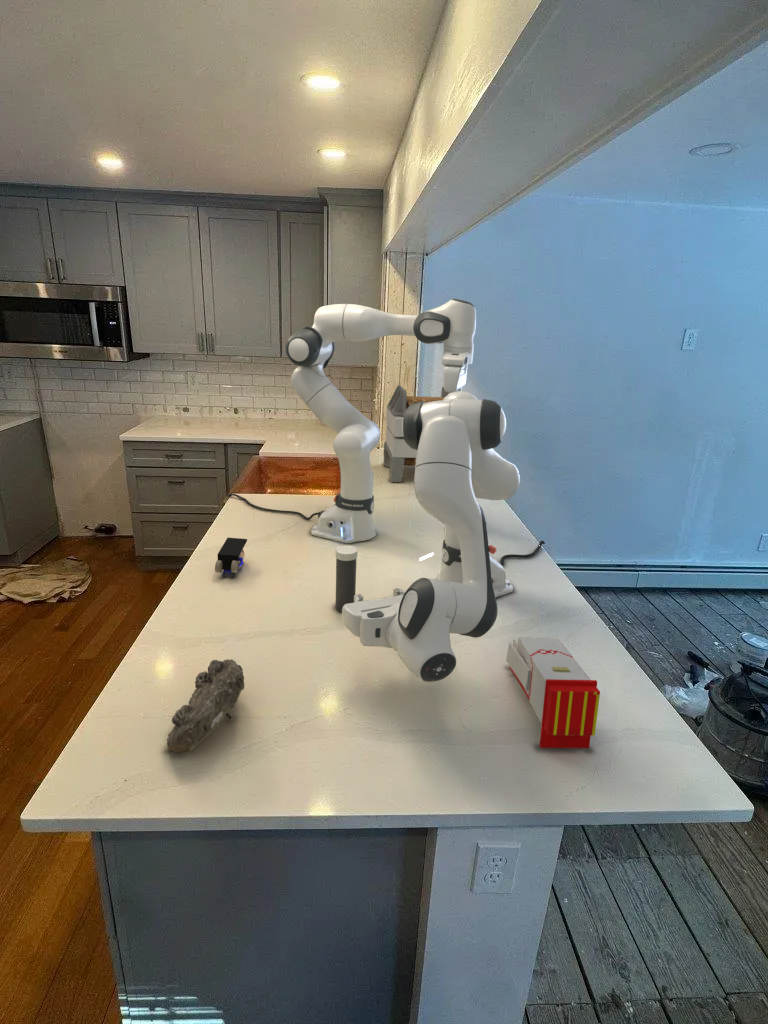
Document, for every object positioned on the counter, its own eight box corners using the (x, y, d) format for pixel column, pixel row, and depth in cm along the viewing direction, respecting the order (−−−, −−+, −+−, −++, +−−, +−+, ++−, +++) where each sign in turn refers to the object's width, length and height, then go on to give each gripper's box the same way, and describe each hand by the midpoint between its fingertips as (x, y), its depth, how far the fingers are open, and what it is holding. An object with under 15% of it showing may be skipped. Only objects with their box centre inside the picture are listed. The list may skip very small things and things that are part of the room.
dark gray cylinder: (333, 611, 147) (334, 554, 142) (337, 602, 152) (338, 546, 147) (353, 613, 147) (355, 556, 141) (356, 603, 152) (358, 548, 146)
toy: (554, 620, 129) (609, 687, 99) (549, 674, 131) (601, 755, 102) (501, 619, 128) (541, 686, 99) (497, 673, 131) (534, 754, 102)
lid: (333, 560, 142) (333, 553, 141) (337, 551, 147) (337, 544, 147) (355, 561, 142) (355, 554, 141) (358, 552, 147) (358, 546, 146)
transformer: (382, 463, 289) (386, 382, 275) (445, 464, 293) (451, 384, 279) (390, 482, 257) (394, 392, 243) (460, 483, 261) (468, 394, 247)
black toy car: (238, 584, 162) (249, 557, 175) (236, 562, 158) (247, 536, 172) (215, 584, 161) (227, 556, 175) (212, 561, 158) (225, 535, 171)
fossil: (192, 660, 117) (244, 628, 112) (224, 691, 120) (276, 661, 115) (142, 746, 98) (202, 712, 93) (182, 779, 101) (242, 748, 96)
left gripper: (453, 354, 180) (449, 398, 185) (441, 358, 161) (437, 407, 166) (473, 355, 178) (468, 399, 183) (463, 360, 160) (459, 409, 164)
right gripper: (448, 603, 117) (419, 575, 129) (356, 619, 110) (334, 588, 122) (446, 630, 120) (417, 599, 132) (355, 647, 112) (333, 614, 124)
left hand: (454, 403), depth 174 cm, fingers open, 8 cm apart
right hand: (376, 594), depth 127 cm, fingers open, 8 cm apart
